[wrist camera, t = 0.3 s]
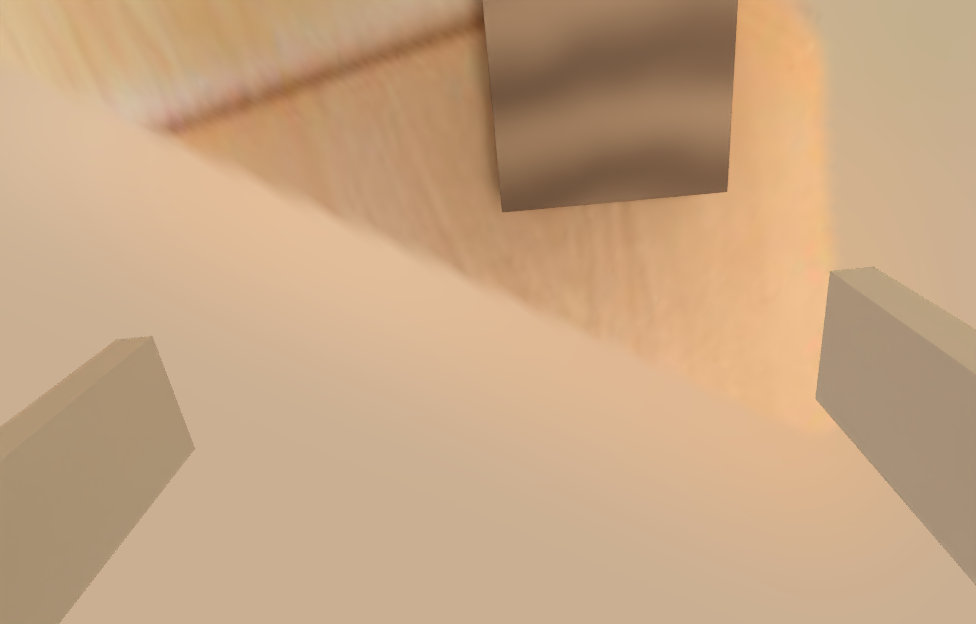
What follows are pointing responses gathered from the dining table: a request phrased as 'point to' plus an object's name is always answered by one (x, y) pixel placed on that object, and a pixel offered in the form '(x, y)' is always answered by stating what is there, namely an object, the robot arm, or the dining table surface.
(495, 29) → the walnut block
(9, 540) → the robot arm
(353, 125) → the dining table surface
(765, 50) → the dining table surface
